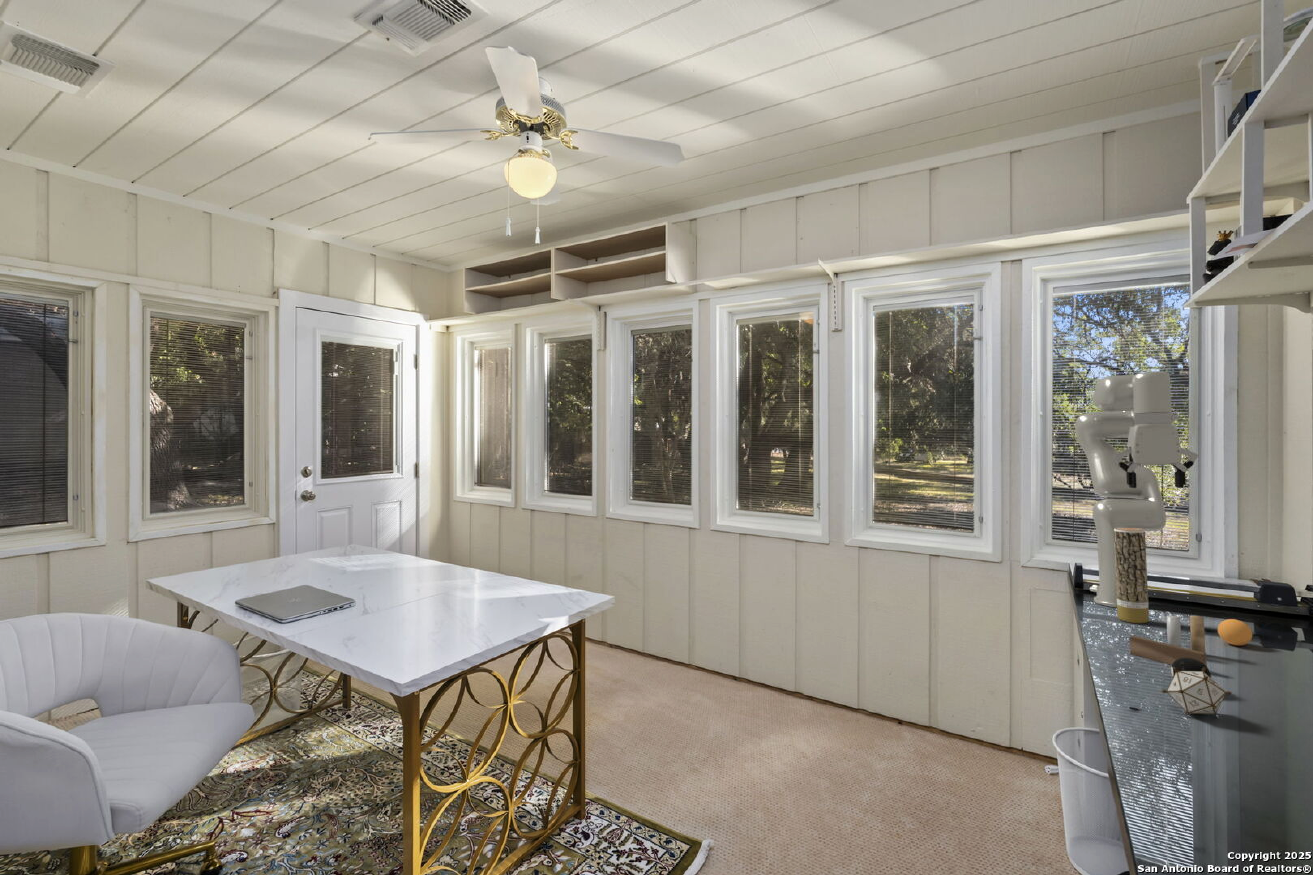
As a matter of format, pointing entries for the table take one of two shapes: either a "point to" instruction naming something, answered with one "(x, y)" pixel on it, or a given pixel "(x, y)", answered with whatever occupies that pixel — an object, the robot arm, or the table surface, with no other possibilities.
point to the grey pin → (1173, 630)
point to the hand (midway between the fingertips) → (1155, 487)
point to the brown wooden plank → (1162, 651)
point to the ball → (1235, 632)
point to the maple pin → (1197, 633)
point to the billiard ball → (1189, 666)
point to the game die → (1196, 692)
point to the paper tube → (1131, 575)
